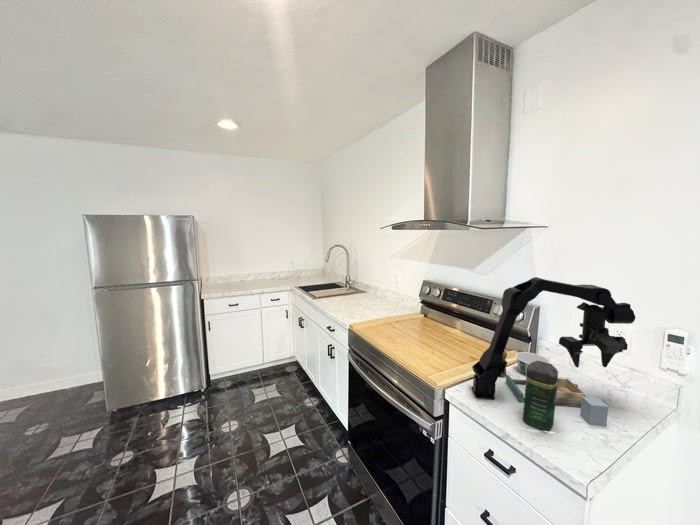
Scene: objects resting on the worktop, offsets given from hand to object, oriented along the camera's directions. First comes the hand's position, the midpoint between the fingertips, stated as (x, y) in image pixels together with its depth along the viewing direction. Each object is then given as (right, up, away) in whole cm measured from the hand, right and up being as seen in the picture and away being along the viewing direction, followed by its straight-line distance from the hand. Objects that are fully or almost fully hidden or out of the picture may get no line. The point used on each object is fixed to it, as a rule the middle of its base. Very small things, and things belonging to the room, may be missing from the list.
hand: (590, 366), depth 99 cm
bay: (-12, -12, +4) cm, 18 cm away
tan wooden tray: (-8, -11, +3) cm, 14 cm away
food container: (-8, -10, +20) cm, 24 cm away
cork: (-22, -10, +19) cm, 31 cm away
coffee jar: (-24, -14, -10) cm, 30 cm away
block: (-8, -14, -10) cm, 18 cm away
